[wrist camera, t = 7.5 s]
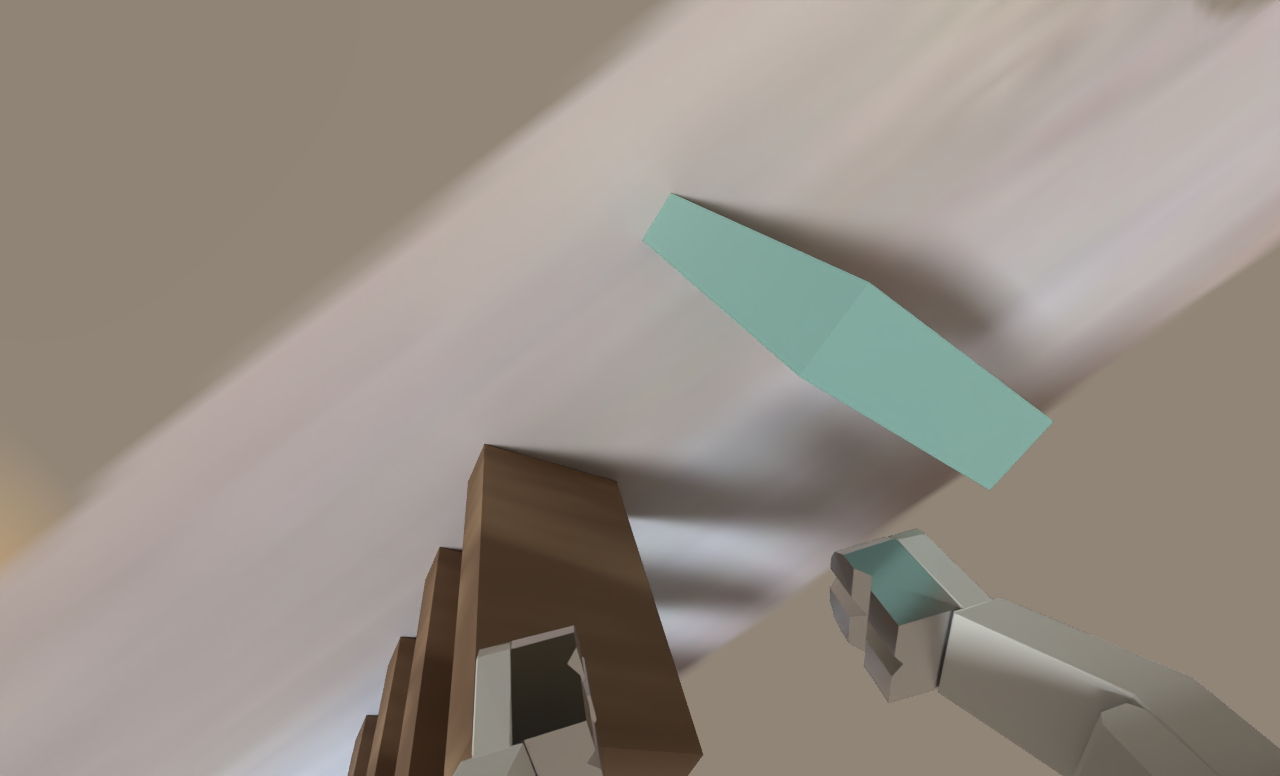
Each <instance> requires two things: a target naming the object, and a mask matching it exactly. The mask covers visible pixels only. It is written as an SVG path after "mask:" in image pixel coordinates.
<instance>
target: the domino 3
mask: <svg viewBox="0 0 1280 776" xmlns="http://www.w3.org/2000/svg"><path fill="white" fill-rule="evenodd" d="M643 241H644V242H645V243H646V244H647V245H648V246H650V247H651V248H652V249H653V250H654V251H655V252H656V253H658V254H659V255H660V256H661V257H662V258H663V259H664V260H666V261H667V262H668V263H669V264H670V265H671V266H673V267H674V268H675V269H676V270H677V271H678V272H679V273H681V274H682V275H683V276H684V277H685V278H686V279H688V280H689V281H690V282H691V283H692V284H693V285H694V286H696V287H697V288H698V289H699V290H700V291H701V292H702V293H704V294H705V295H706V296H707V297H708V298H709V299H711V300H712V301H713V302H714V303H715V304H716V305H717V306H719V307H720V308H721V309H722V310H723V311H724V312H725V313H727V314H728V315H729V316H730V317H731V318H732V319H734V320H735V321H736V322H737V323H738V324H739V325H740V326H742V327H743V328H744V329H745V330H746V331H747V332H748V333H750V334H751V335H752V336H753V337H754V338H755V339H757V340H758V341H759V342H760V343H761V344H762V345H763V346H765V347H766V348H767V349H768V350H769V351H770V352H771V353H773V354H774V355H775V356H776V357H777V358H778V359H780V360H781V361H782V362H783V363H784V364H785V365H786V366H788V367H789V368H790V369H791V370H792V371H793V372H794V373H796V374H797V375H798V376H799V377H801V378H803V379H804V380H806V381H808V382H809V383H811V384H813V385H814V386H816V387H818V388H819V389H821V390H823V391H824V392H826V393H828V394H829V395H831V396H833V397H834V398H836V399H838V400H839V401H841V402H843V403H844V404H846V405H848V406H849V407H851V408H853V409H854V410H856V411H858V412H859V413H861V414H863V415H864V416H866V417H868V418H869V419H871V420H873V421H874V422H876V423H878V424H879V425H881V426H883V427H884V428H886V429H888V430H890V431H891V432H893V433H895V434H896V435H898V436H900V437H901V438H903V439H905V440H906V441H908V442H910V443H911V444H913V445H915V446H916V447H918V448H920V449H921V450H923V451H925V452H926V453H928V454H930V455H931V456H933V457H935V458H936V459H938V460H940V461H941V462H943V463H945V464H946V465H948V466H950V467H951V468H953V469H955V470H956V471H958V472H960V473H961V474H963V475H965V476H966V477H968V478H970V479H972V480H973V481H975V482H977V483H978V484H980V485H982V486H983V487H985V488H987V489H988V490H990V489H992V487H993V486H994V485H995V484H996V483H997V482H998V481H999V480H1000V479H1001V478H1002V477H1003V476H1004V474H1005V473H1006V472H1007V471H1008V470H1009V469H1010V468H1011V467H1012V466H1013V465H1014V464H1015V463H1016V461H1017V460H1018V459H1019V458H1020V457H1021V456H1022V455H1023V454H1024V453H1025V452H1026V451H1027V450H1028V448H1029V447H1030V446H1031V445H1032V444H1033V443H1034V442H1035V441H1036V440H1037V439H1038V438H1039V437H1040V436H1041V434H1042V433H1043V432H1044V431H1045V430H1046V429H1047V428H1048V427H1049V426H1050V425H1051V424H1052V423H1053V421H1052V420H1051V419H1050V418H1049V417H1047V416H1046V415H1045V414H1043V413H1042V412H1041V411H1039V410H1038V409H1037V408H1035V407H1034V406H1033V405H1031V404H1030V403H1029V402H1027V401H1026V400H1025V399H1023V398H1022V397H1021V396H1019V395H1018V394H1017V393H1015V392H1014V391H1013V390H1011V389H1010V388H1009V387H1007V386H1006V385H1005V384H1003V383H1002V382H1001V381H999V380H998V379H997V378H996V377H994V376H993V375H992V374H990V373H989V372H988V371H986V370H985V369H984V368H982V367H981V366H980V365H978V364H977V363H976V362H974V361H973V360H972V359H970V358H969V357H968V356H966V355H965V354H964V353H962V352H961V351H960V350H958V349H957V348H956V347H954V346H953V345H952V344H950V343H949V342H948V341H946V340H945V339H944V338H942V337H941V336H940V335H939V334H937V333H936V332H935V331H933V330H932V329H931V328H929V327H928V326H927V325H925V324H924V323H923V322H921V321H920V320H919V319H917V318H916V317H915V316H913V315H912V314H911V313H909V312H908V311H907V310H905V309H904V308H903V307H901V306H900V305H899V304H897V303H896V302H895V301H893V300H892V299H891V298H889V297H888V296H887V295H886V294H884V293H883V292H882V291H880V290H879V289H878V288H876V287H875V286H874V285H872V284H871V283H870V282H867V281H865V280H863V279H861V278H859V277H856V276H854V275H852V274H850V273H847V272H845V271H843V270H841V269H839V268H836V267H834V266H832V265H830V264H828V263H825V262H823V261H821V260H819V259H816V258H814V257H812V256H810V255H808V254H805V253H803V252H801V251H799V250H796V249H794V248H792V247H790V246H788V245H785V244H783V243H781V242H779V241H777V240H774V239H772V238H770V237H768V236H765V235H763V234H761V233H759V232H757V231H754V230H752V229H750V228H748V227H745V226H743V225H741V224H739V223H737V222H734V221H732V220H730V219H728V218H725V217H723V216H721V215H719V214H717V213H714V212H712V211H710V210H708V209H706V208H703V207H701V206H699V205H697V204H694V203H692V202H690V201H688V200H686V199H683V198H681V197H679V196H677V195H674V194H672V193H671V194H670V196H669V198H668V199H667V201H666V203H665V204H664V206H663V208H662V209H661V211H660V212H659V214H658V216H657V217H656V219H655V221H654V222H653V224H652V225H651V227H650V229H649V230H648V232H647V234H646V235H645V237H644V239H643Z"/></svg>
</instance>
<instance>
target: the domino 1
mask: <svg viewBox="0 0 1280 776" xmlns="http://www.w3.org/2000/svg"><path fill="white" fill-rule="evenodd" d="M415 643H416V639H412V638H405V637H400V640H399V642H398V644H397V646H396V649H395V651H394V653H393V656H392V658H391V660H390V663H389V665H388V669H387V674H386V679H385V684H384V689H383V694H382V699H381V704H380V709H379V714H378V719H377V724H376V729H375V734H374V739H373V744H372V749H371V754H370V759H369V764H368V769H367V774H366V776H395V770H396V764H397V757H398V751H399V745H400V738H401V732H402V726H403V719H404V713H405V707H406V700H407V694H408V688H409V681H410V675H411V668H412V662H413V656H414V649H415Z"/></svg>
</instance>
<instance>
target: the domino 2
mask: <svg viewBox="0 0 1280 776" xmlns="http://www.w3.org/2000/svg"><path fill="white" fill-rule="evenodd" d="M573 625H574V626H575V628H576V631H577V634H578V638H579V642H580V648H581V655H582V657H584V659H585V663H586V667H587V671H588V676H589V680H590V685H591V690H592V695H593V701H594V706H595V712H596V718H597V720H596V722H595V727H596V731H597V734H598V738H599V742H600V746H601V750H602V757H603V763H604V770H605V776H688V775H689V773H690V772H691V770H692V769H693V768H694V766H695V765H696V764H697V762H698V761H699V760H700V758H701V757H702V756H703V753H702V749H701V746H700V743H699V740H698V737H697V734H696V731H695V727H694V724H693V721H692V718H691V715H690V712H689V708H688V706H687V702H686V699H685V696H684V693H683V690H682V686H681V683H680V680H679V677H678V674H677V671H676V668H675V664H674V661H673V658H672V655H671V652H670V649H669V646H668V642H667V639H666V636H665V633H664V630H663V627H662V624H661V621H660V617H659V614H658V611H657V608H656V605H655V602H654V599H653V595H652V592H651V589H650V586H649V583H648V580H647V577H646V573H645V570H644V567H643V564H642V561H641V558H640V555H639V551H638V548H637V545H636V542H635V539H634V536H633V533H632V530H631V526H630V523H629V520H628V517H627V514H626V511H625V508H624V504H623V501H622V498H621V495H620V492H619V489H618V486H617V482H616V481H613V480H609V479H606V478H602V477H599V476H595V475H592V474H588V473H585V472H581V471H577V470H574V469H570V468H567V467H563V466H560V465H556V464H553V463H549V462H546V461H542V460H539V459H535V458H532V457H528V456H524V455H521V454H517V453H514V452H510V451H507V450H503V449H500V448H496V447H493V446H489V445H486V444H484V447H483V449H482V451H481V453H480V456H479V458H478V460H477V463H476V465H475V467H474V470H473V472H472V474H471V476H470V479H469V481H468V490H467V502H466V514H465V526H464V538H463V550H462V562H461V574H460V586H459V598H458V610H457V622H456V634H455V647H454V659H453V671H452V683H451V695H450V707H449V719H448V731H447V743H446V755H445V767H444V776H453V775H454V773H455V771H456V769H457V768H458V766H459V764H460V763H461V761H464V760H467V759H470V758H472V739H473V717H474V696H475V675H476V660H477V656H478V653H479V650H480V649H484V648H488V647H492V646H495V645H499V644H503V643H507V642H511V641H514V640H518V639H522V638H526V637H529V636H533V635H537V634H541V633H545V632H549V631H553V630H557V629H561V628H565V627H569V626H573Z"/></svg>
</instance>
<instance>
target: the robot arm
mask: <svg viewBox="0 0 1280 776" xmlns="http://www.w3.org/2000/svg"><path fill="white" fill-rule="evenodd" d="M831 570H832V571H833V572H834V574H835V575H836V577H837V578H836V579H835V581H834V582H833V584H832V585H831V586H830V604H831V607H832V611H833V615H834V618H835V620H836V622H837V624H838V626H839V628H840V630H841V632H842V633H843V635H844V636H845V638H846V640H847V641H848V643H850V644H852V645H853V646H856V647H857V648H859V649H861V650H863V651H864V652H865V655H864V667H865V669H866V670H867V672H868V673H869V675H870V676H871V678H872V679H873V681H874V682H875V684H876V685H877V687H878V688H879V690H880V691H881V693H882V694H883V696H884V697H885V699H886V700H887V702H888V703H892V702H895V701H898V700H902V699H905V698H909V697H912V696H916V695H919V694H923V693H926V692H930V691H933V690H936V689H938V693H940V694H941V695H943V696H944V697H946V698H947V699H949V700H950V701H952V702H953V703H955V704H956V705H958V706H959V707H961V708H962V709H964V710H965V711H967V712H968V713H970V714H971V715H973V716H974V717H976V718H977V719H979V720H980V721H982V722H983V723H985V724H986V725H988V726H989V727H991V728H992V729H994V730H995V731H997V732H998V733H1000V734H1001V735H1003V736H1004V737H1006V738H1007V739H1009V740H1010V741H1012V742H1013V743H1015V744H1016V745H1017V746H1019V747H1021V748H1022V749H1023V750H1025V751H1026V752H1028V753H1029V754H1031V755H1033V756H1034V757H1035V758H1037V759H1038V760H1040V761H1041V762H1043V763H1045V764H1046V765H1048V766H1049V767H1050V768H1052V769H1053V770H1055V771H1056V772H1058V773H1059V774H1061V775H1062V776H1280V748H1278V747H1277V746H1276V745H1275V744H1274V743H1272V742H1271V741H1270V740H1269V739H1267V738H1266V737H1265V736H1264V735H1263V734H1261V733H1260V732H1259V731H1258V730H1256V729H1255V728H1254V727H1253V726H1252V725H1250V724H1249V723H1248V722H1247V721H1245V720H1244V719H1243V718H1242V717H1241V716H1239V715H1238V714H1237V713H1236V712H1234V711H1233V710H1232V709H1230V708H1229V707H1228V706H1227V705H1226V704H1225V703H1223V702H1222V701H1221V700H1220V699H1219V698H1217V697H1216V696H1215V695H1214V694H1212V693H1211V692H1210V691H1209V690H1208V689H1206V688H1205V687H1204V686H1203V685H1201V684H1200V683H1199V682H1198V681H1197V680H1195V679H1194V678H1192V677H1190V676H1188V675H1185V674H1183V673H1181V672H1178V671H1176V670H1173V669H1171V668H1169V667H1166V666H1164V665H1162V664H1159V663H1157V662H1154V661H1152V660H1149V659H1147V658H1145V657H1142V656H1140V655H1138V654H1135V653H1133V652H1130V651H1128V650H1126V649H1123V648H1121V647H1119V646H1116V645H1114V644H1112V643H1109V642H1106V641H1104V640H1102V639H1099V638H1097V637H1095V636H1092V635H1090V634H1088V633H1085V632H1083V631H1080V630H1078V629H1076V628H1073V627H1071V626H1069V625H1066V624H1064V623H1061V622H1059V621H1057V620H1054V619H1052V618H1050V617H1047V616H1045V615H1042V614H1040V613H1038V612H1035V611H1033V610H1030V609H1028V608H1026V607H1023V606H1021V605H1018V604H1016V603H1014V602H1011V601H1009V600H1007V599H1004V598H1002V597H1000V598H996V599H992V598H991V597H990V596H989V595H988V594H987V593H986V592H985V591H984V590H982V589H981V588H980V586H979V585H977V584H976V583H975V582H974V581H973V580H972V579H971V578H970V577H969V576H968V575H967V574H966V573H965V572H964V571H963V570H962V569H961V568H960V567H959V566H958V565H957V564H956V563H955V562H954V561H953V560H952V559H951V558H950V557H949V556H948V555H947V554H946V553H945V552H944V551H943V550H942V549H941V548H940V547H939V546H938V545H937V544H935V542H933V541H932V540H931V539H930V538H929V537H928V536H927V535H926V534H925V533H924V532H923V531H921V530H918V529H913V530H909V531H906V532H902V533H899V534H895V535H891V536H889V537H883V538H879V539H876V540H872V541H869V542H865V543H862V544H859V545H855V546H852V547H848V548H845V549H842V550H838V551H835V552H834V554H833V555H832V557H831ZM596 720H597V718H596V712H595V706H594V701H593V695H592V690H591V685H590V680H589V676H588V671H587V667H586V663H585V659H584V657H582V655H581V648H580V642H579V638H578V634H577V631H576V628H575V626H574V625H573V626H569V627H565V628H561V629H557V630H553V631H549V632H545V633H541V634H537V635H533V636H529V637H526V638H522V639H518V640H514V641H511V642H507V643H503V644H499V645H495V646H492V647H488V648H484V649H480V650H479V653H478V656H477V660H476V675H475V696H474V717H473V739H472V758H470V759H467V760H464V761H461V763H460V764H459V766H458V768H457V769H456V771H455V773H454V775H453V776H605V770H604V763H603V757H602V750H601V746H600V742H599V738H598V734H597V731H596V727H595V722H596Z"/></svg>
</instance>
